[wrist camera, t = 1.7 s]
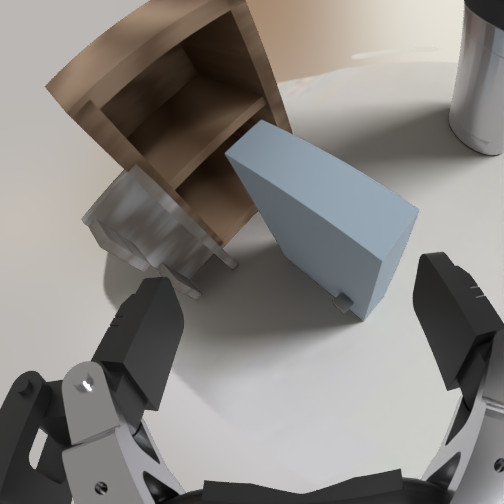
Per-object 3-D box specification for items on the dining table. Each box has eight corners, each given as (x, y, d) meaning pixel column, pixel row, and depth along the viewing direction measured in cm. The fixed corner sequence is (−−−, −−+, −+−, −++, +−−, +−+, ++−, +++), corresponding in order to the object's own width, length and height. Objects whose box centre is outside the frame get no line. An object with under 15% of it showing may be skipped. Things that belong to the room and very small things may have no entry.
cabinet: (235, 128, 39) (160, -6, 20) (322, 177, 32) (270, -15, 13) (137, 227, 38) (10, 126, 18) (203, 304, 31) (18, 198, 11)
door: (304, 234, 30) (261, 119, 16) (383, 296, 26) (419, 209, 12) (278, 264, 30) (211, 165, 16) (356, 329, 25) (367, 279, 11)
